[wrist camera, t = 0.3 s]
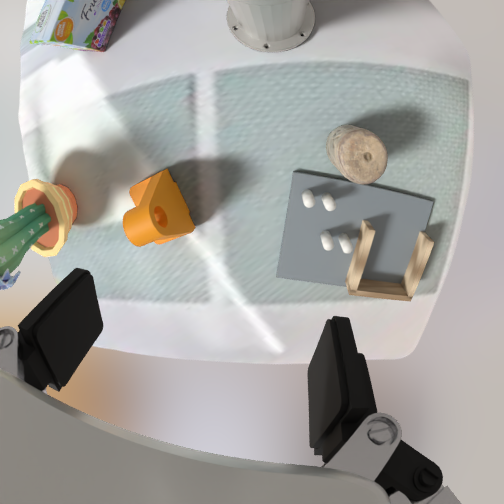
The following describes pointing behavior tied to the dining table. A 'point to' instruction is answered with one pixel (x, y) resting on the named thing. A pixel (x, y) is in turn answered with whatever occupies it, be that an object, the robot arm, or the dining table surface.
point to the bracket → (157, 211)
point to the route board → (347, 230)
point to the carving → (357, 153)
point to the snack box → (77, 23)
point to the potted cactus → (35, 225)
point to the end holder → (379, 287)
